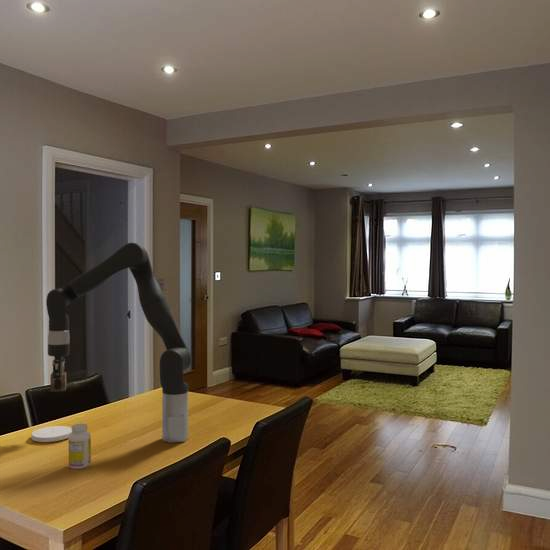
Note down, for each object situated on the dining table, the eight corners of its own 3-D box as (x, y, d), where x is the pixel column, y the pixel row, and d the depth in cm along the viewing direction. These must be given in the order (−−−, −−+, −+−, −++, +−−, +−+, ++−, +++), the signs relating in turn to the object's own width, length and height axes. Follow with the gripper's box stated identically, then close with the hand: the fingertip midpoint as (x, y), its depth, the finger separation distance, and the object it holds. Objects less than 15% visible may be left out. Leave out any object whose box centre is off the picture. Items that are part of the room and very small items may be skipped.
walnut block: (65, 390, 197) (65, 374, 197) (50, 391, 196) (50, 375, 196) (66, 387, 202) (66, 371, 202) (52, 388, 201) (52, 372, 201)
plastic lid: (72, 430, 206) (72, 424, 206) (73, 442, 193) (73, 435, 193) (32, 434, 201) (32, 428, 201) (30, 446, 188) (30, 439, 188)
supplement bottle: (83, 460, 174) (83, 421, 174) (95, 465, 170) (95, 425, 170) (64, 466, 169) (64, 425, 169) (75, 471, 165) (75, 429, 164)
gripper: (67, 344, 193) (67, 392, 193) (71, 339, 207) (70, 383, 207) (45, 345, 191) (45, 393, 191) (50, 339, 204) (50, 384, 205)
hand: (58, 387), depth 199 cm, fingers closed on walnut block, 5 cm apart
